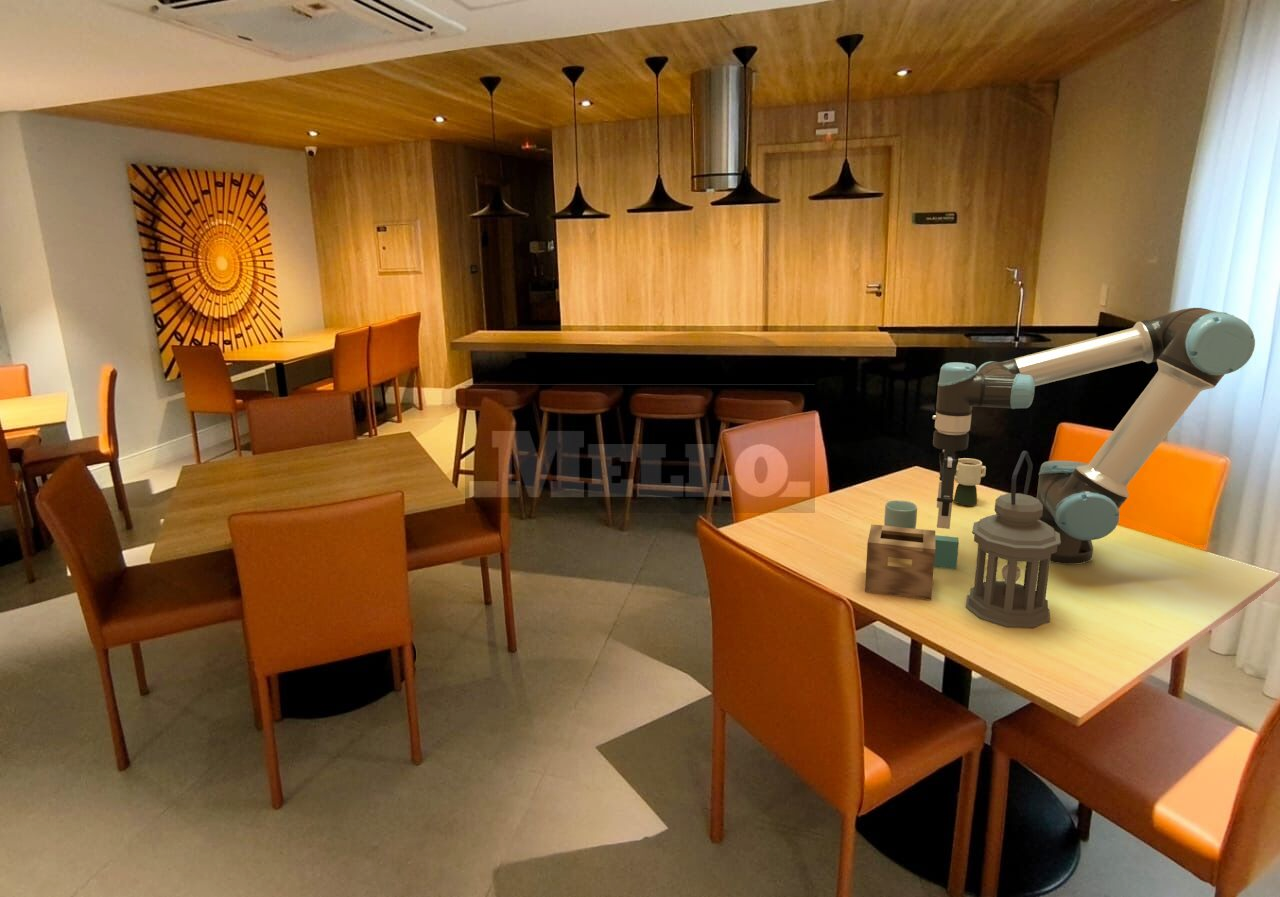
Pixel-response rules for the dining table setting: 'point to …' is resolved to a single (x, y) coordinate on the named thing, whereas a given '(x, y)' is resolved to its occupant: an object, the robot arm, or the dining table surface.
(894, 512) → the cup
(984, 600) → the lantern
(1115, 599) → the dining table surface
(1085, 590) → the dining table surface
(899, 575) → the coin box
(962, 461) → the character mug
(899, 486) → the dining table surface
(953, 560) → the block
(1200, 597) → the dining table surface
